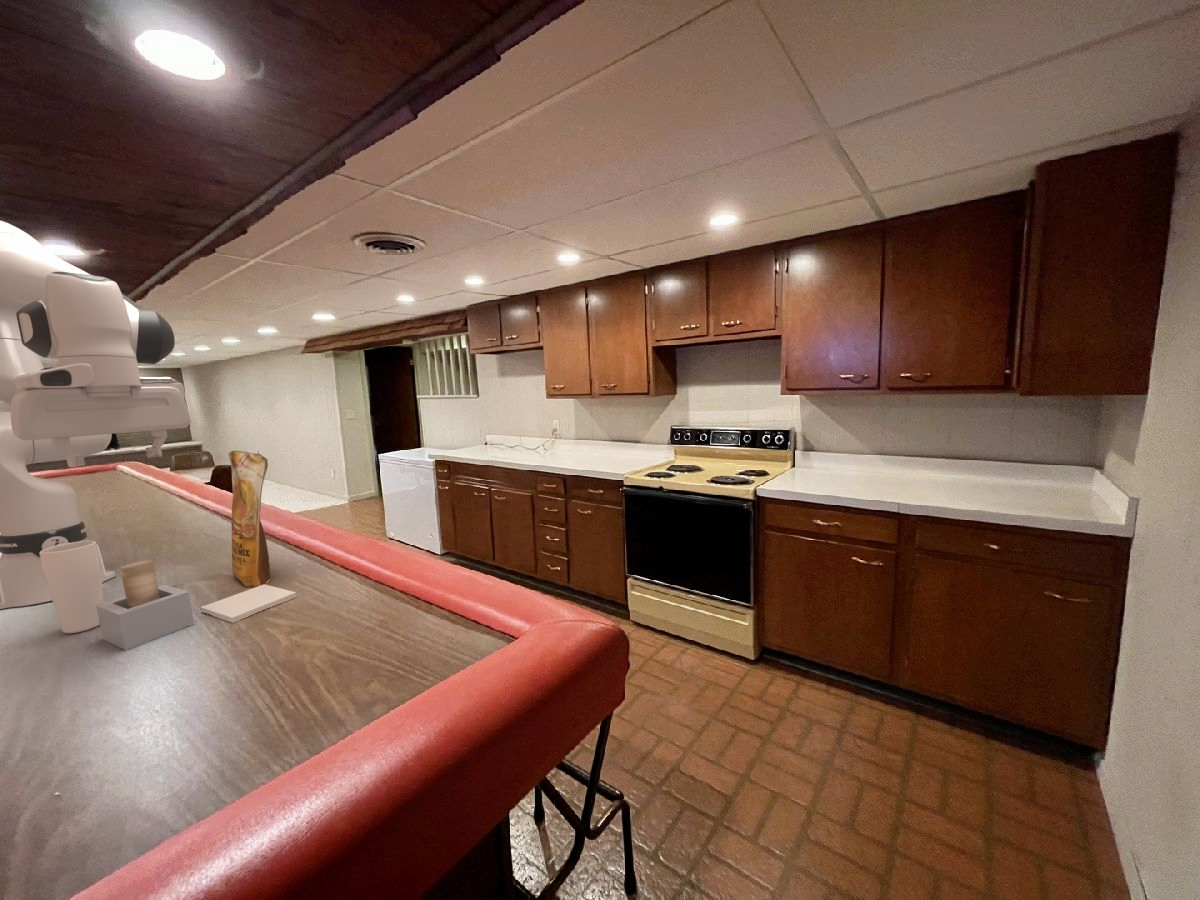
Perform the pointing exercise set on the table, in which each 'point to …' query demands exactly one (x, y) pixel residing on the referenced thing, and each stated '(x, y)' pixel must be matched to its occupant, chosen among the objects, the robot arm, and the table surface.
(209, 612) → the square mat
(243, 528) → the pancake mix bag
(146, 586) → the birch pin
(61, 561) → the drinking glass
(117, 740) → the table surface
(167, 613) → the grey square frame
